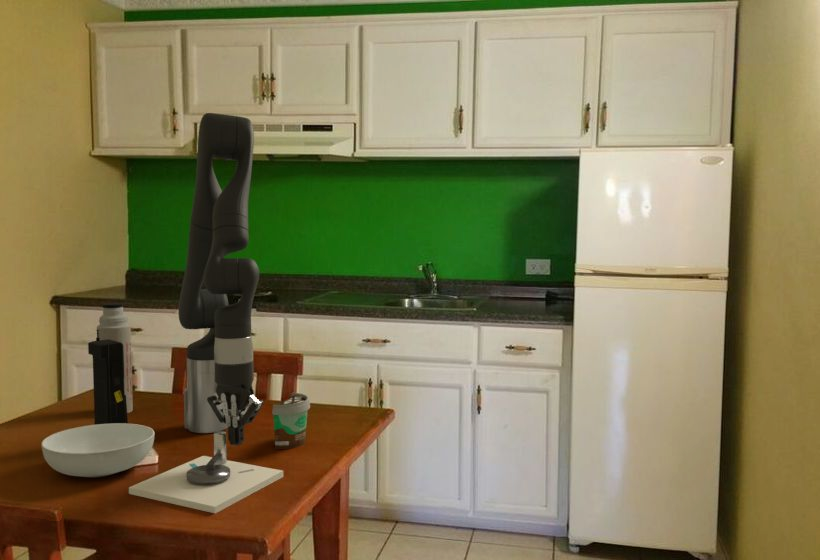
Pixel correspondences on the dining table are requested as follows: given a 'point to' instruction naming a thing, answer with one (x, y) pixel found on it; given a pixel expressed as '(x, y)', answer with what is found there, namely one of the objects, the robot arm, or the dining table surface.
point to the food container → (291, 421)
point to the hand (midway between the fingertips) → (236, 444)
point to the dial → (212, 465)
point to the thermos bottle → (120, 331)
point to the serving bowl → (98, 449)
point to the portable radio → (108, 381)
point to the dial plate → (206, 485)
